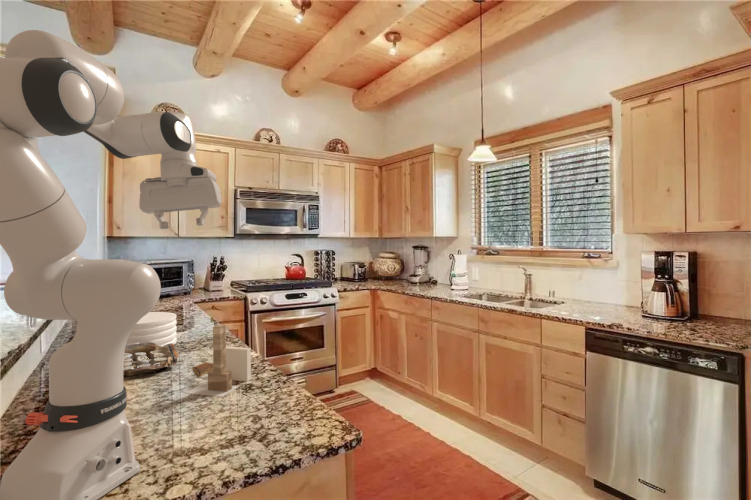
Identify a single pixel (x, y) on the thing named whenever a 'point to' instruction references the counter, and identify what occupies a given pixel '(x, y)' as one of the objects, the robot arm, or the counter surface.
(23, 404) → the counter surface
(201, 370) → the shard
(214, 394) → the rest mat
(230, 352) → the slab tile
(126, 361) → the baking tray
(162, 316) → the plate stack
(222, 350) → the stacked wooden blocks
